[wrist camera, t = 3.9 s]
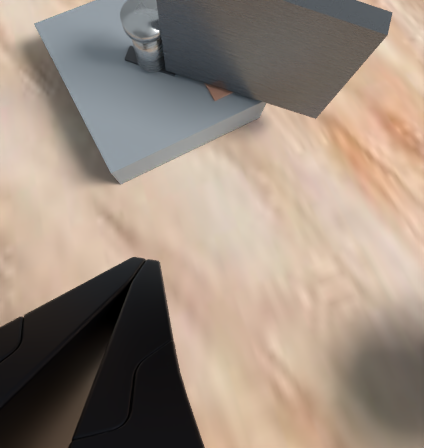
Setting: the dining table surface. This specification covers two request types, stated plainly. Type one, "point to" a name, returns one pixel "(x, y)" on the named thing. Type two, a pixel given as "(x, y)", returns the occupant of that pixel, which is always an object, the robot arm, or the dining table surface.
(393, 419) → the dining table surface
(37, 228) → the dining table surface
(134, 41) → the gray pivoting panel
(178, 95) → the gray square base
